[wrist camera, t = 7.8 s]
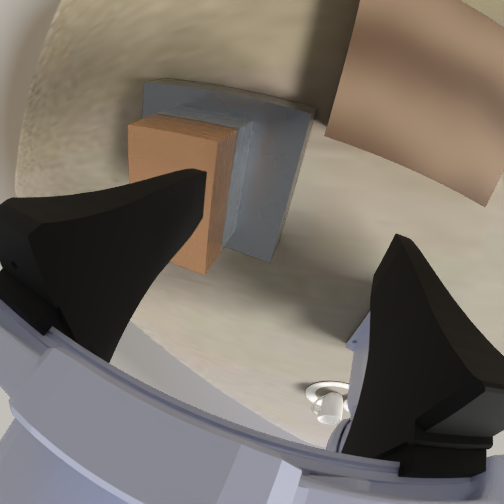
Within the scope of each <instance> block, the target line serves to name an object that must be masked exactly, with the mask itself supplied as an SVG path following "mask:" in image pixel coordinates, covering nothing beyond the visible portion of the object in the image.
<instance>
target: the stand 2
mask: <svg viewBox="0 0 504 504" xmlns="http://www.w3.org/2000/svg"><path fill="white" fill-rule="evenodd" d="M324 136H326V137H329V138H332V139H335V140H338V141H341V142H344V143H346V144H349V145H352V146H355V147H357V148H360V149H363V150H365V151H368V152H371V153H373V154H376V155H378V156H381V157H383V158H386V159H388V160H390V161H393V162H395V163H398V164H400V165H402V166H404V167H407V168H409V169H411V170H413V171H416V172H418V173H420V174H422V175H424V176H426V177H429V178H431V179H433V180H435V181H437V182H439V183H441V184H443V185H445V186H447V187H449V188H451V189H453V190H455V191H456V192H458V193H460V194H462V195H464V196H466V197H468V198H469V199H471V200H473V201H475V202H477V203H478V204H480V205H482V206H484V207H486V205H487V203H488V201H489V199H490V197H491V195H492V193H493V191H494V189H495V187H496V185H497V183H498V181H499V179H500V177H501V174H502V172H503V170H504V27H502V26H501V25H499V24H498V23H496V22H495V21H493V20H492V19H490V18H489V17H487V16H486V15H484V14H482V13H481V12H479V11H477V10H476V9H474V8H472V7H471V6H469V5H467V4H465V3H464V2H462V1H460V0H360V3H359V7H358V12H357V16H356V20H355V24H354V28H353V32H352V36H351V40H350V44H349V48H348V52H347V56H346V59H345V63H344V67H343V71H342V75H341V78H340V82H339V86H338V89H337V93H336V97H335V100H334V104H333V107H332V111H331V114H330V118H329V121H328V125H327V128H326V132H325V135H324Z"/></svg>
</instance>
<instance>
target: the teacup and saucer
mask: <svg viewBox="0 0 504 504" xmlns="http://www.w3.org/2000/svg"><path fill="white" fill-rule="evenodd" d="M325 386H338V387H343V388H346V389H349V384H346V383H342V382H333V381H327V382H319V383H315V384H312V385H310V386H309V387H308V388H307V389H306V392H305V393H306V396H307V398H308V399H309V400H310V401H312V402H313V405H312V407H311V409H312V411H313V413H315V414H318V417H317V419H318V421H320V422H322V423H325V424H338V423H340V422H341V419H342V411H343V409H345V410H346V411H348V412H349V409H348V405H347V399H346V400H345V401H344V403H343V398H342V395H341V394H339V393H336V392H330V393H327V394H326V395H324V396H322V397H320V398H317V397H316V395H315V392H316V390H318V389H319V388H321V387H325ZM322 398H324V399H323V401H322V400H320V399H322ZM315 404H317V405H319V406H321V407H320V410H319V411H315V410H314V405H315ZM349 413H350V412H349Z"/></svg>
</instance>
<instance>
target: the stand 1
mask: <svg viewBox="0 0 504 504" xmlns="http://www.w3.org/2000/svg"><path fill="white" fill-rule="evenodd" d="M177 106H184V107H191V108H197V109H203V110H208V111H214V112H219V113H224V114H229V115H234V116H239V117H243V118H248V119H252V120H254V122H253V128H252V134H251V139H250V145H249V151H248V156H247V162H246V168H245V174H244V180H243V186H242V192H241V198H240V204H239V210H238V216H237V223H236V229H235V232H234V233H233V234H232V236H231V237H230V239H229V240H228V242H227V243H226V245H225V246H224V247H227V248H229V249H232V250H235V251H238V252H241V253H243V254H246V255H249V256H252V257H255V258H257V259H260V260H263V261H266V262H269V263H270V262H271V259H272V257H273V255H274V253H275V250H276V248H277V246H278V243H279V240H280V237H281V233H282V230H283V226H284V223H285V220H286V216H287V213H288V209H289V206H290V202H291V199H292V195H293V192H294V188H295V185H296V181H297V178H298V174H299V171H300V167H301V164H302V160H303V156H304V153H305V149H306V146H307V142H308V138H309V135H310V131H311V127H312V124H313V120H314V116H315V112H316V109H317V108H314V107H311V106H307V105H304V104H300V103H297V102H293V101H289V100H285V99H281V98H277V97H273V96H269V95H265V94H260V93H256V92H251V91H246V90H241V89H236V88H231V87H225V86H220V85H214V84H207V83H201V82H193V81H186V80H177V79H167V78H164V79H158V80H153V81H149V82H144V92H143V109H142V119H143V118H146V117H148V116H151V115H154V114H157V113H159V112H162V111H165V110H168V109H171V108H174V107H177Z"/></svg>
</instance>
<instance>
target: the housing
mask: <svg viewBox="0 0 504 504" xmlns="http://www.w3.org/2000/svg"><path fill="white" fill-rule="evenodd" d="M253 122H254V120H252V119H248V118H243V117H239V116H234V115H229V114H224V113H219V112H214V111H208V110H203V109H197V108H191V107H184V106H177V107H174V108H171V109H168V110H165V111H162V112H159V113H157V114H154V115H151V116H148V117H146V118H143V119H141V120H138V121H136V122H133V123H131V124H128V165H129V184H131V183H134V182H138V181H142V180H146V179H149V178H153V177H156V176H160V175H164V174H167V173H171V172H175V171H179V170H183V169H190V168H194V169H198V170H202V171H206V172H207V178H206V189H205V200H204V212H203V218H202V220H201V222H200V223H199V225H198V226H197V228H196V230H195V231H194V233H193V234H192V236H191V237H190V238H189V239H188V241H187V242H186V243H185V244H184V245H183V246H182V248H181V249H180V250H179V251H178V252H177V253H176V255H175V256H174V257H173V258H172V259H171V260H170V262H171V263H174V264H176V265H179V266H182V267H184V268H187V269H189V270H192V271H195V272H197V273H200V274H203V275H205V274H206V273H207V271H208V270H209V268H210V267H211V265H212V264H213V262H214V261H215V259H216V258H217V256H218V255H219V253H220V252H221V251H222V249H223V248H224V246H225V245H226V243H227V242H228V240H229V239H230V237H231V236H232V234H233V233H234V232H235V229H236V223H237V216H238V210H239V204H240V198H241V192H242V186H243V180H244V174H245V168H246V162H247V156H248V151H249V145H250V139H251V134H252V128H253Z"/></svg>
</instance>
